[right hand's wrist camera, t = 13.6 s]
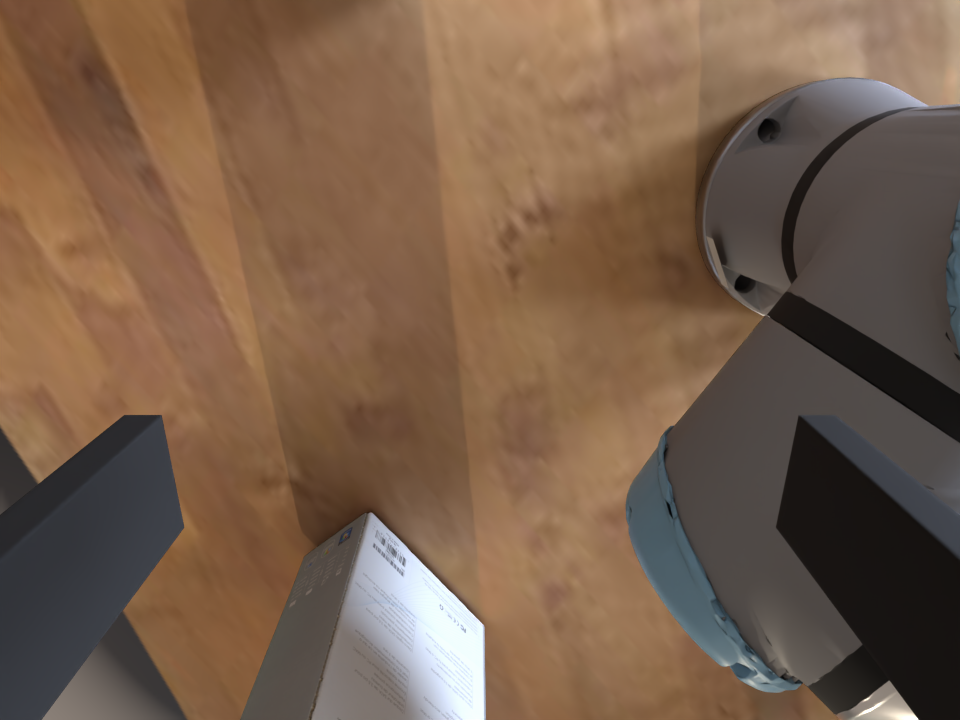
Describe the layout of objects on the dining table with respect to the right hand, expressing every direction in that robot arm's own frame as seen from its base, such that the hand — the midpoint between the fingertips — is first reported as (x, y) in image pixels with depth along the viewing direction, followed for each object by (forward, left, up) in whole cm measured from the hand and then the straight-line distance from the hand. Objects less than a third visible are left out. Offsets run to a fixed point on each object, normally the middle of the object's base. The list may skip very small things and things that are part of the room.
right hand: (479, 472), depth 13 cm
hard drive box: (+7, +30, -31) cm, 43 cm away
